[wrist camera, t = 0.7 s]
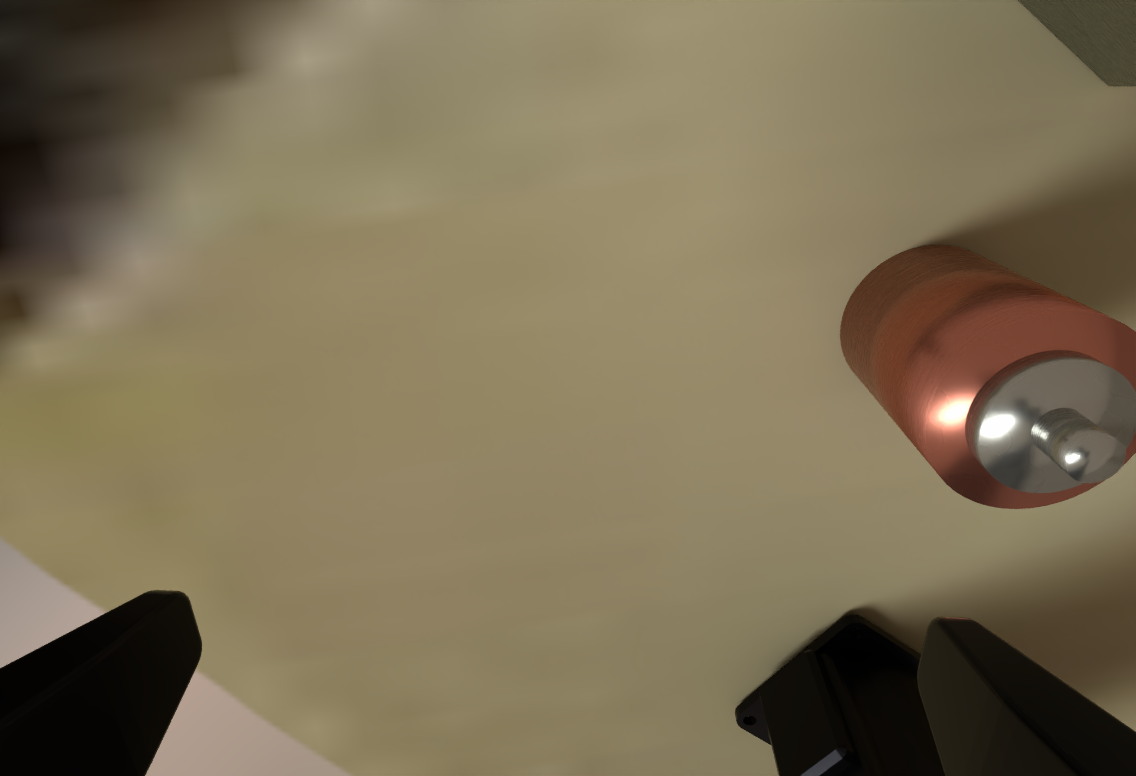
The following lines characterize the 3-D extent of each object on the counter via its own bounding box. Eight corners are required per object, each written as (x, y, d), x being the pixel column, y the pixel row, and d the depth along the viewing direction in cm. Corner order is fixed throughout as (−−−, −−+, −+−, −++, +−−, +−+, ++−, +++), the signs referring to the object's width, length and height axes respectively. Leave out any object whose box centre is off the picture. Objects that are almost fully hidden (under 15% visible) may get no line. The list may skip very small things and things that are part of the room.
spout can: (1041, 307, 19) (1291, 438, 12) (918, 422, 21) (1074, 597, 14) (925, 211, 18) (1122, 292, 11) (806, 340, 20) (912, 480, 13)
